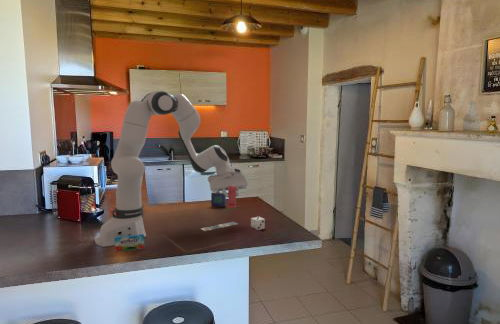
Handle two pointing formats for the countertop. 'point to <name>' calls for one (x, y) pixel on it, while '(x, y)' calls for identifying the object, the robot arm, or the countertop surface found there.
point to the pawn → (232, 197)
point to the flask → (218, 199)
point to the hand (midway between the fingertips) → (232, 196)
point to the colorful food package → (129, 242)
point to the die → (258, 223)
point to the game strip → (218, 226)
